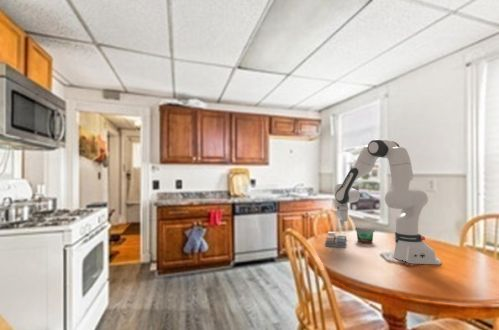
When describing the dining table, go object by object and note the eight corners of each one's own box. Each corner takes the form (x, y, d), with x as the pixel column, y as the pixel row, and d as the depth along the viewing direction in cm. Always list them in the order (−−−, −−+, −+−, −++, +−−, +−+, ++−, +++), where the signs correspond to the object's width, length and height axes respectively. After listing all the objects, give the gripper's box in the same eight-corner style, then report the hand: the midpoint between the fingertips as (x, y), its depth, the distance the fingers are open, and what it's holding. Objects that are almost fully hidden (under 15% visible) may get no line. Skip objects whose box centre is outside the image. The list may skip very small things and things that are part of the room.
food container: (356, 243, 183) (356, 228, 184) (355, 241, 189) (355, 227, 190) (376, 244, 180) (375, 229, 180) (374, 242, 186) (374, 227, 186)
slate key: (345, 241, 181) (345, 237, 181) (345, 242, 177) (345, 238, 177) (338, 240, 182) (338, 236, 182) (337, 242, 178) (337, 238, 178)
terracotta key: (334, 240, 183) (334, 236, 183) (333, 241, 179) (333, 237, 179) (327, 239, 185) (327, 235, 185) (326, 241, 180) (326, 237, 180)
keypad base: (346, 238, 198) (346, 235, 198) (346, 248, 172) (346, 244, 172) (327, 236, 203) (327, 233, 203) (325, 246, 176) (325, 243, 176)
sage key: (345, 238, 194) (345, 234, 194) (345, 239, 190) (345, 236, 190) (338, 237, 195) (338, 234, 196) (338, 239, 191) (338, 235, 191)
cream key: (334, 235, 196) (334, 231, 196) (334, 236, 192) (334, 233, 192) (328, 235, 198) (328, 231, 198) (328, 236, 194) (328, 232, 194)
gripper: (334, 204, 204) (334, 223, 203) (339, 207, 183) (340, 228, 183) (342, 204, 203) (343, 223, 202) (349, 207, 183) (349, 228, 182)
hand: (342, 225), depth 192 cm, fingers closed
